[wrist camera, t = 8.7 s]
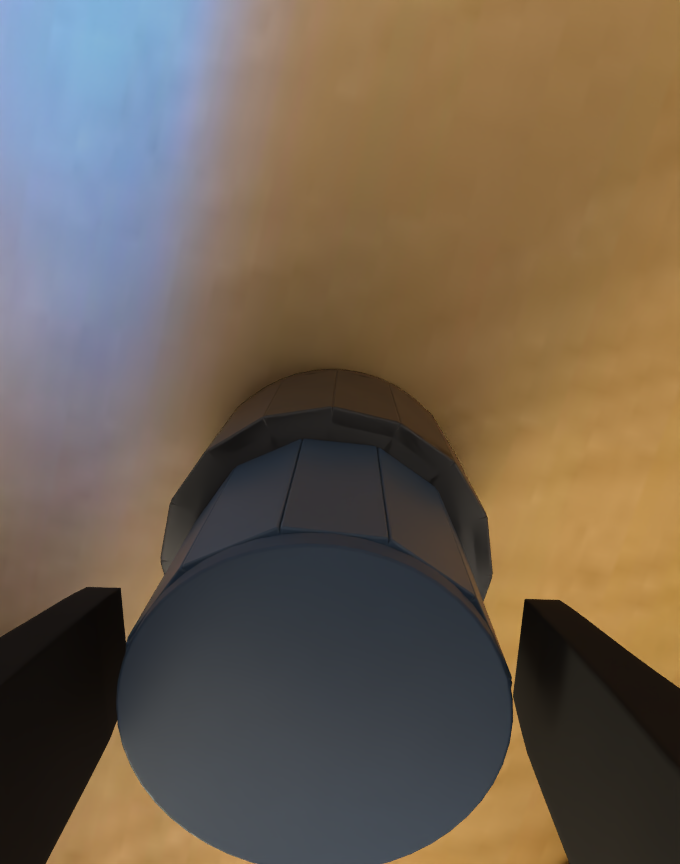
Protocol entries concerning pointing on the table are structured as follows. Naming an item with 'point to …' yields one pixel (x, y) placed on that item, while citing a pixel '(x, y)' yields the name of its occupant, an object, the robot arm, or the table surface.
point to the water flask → (339, 422)
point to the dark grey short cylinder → (317, 666)
